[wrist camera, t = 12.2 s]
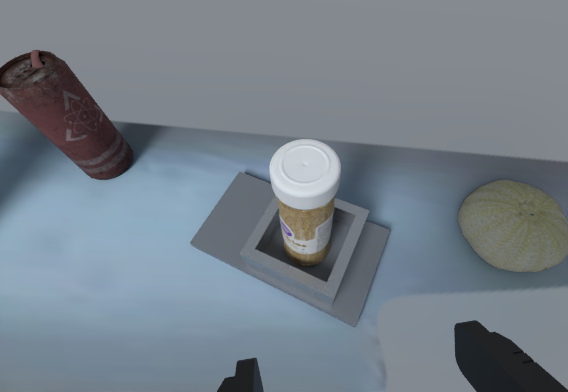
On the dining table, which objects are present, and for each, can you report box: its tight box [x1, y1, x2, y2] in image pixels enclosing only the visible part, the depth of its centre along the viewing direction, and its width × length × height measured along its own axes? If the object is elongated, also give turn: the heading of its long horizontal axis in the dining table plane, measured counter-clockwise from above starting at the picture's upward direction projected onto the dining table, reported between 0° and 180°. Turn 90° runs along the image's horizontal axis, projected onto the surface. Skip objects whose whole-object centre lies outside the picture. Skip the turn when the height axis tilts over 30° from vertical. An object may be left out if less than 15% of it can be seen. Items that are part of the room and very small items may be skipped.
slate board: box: [190, 172, 390, 327], centre depth 31 cm, size 10×18×1 cm, turn 63°
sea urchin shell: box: [458, 180, 568, 272], centre depth 29 cm, size 9×8×8 cm
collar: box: [240, 195, 369, 306], centre depth 29 cm, size 9×9×3 cm
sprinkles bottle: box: [269, 139, 341, 266], centre depth 24 cm, size 5×5×13 cm
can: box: [0, 50, 133, 180], centre depth 33 cm, size 6×6×14 cm
